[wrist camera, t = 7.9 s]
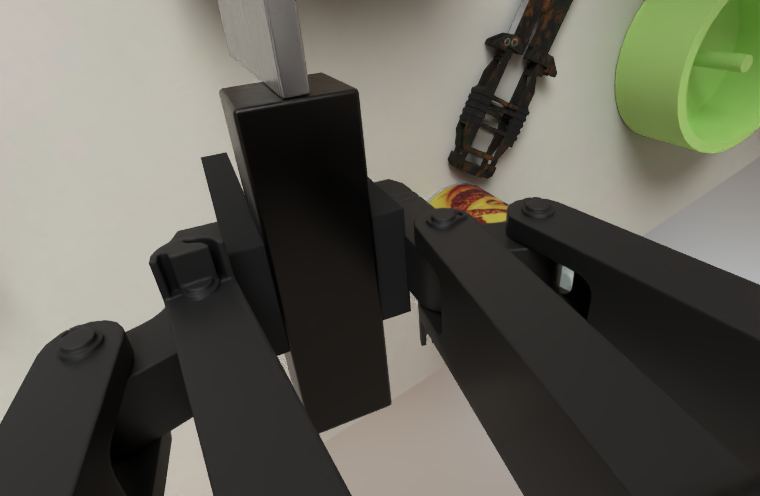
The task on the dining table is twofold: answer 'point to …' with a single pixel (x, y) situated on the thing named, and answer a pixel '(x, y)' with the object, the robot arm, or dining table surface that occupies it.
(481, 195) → the canned food
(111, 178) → the dining table surface
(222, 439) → the robot arm
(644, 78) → the green piece
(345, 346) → the cake knife
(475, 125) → the knife
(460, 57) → the dining table surface
